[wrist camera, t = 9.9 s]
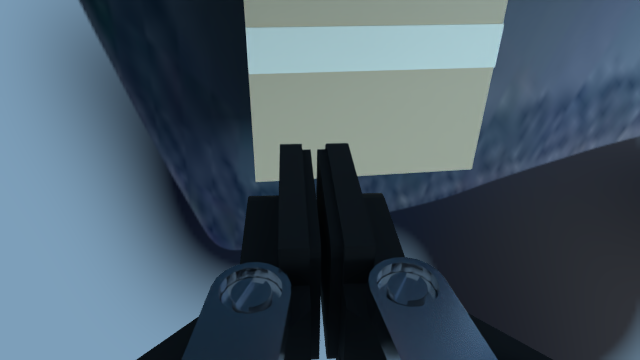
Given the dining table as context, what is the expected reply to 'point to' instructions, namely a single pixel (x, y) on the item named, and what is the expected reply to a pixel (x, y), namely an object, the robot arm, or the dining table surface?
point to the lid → (371, 80)
